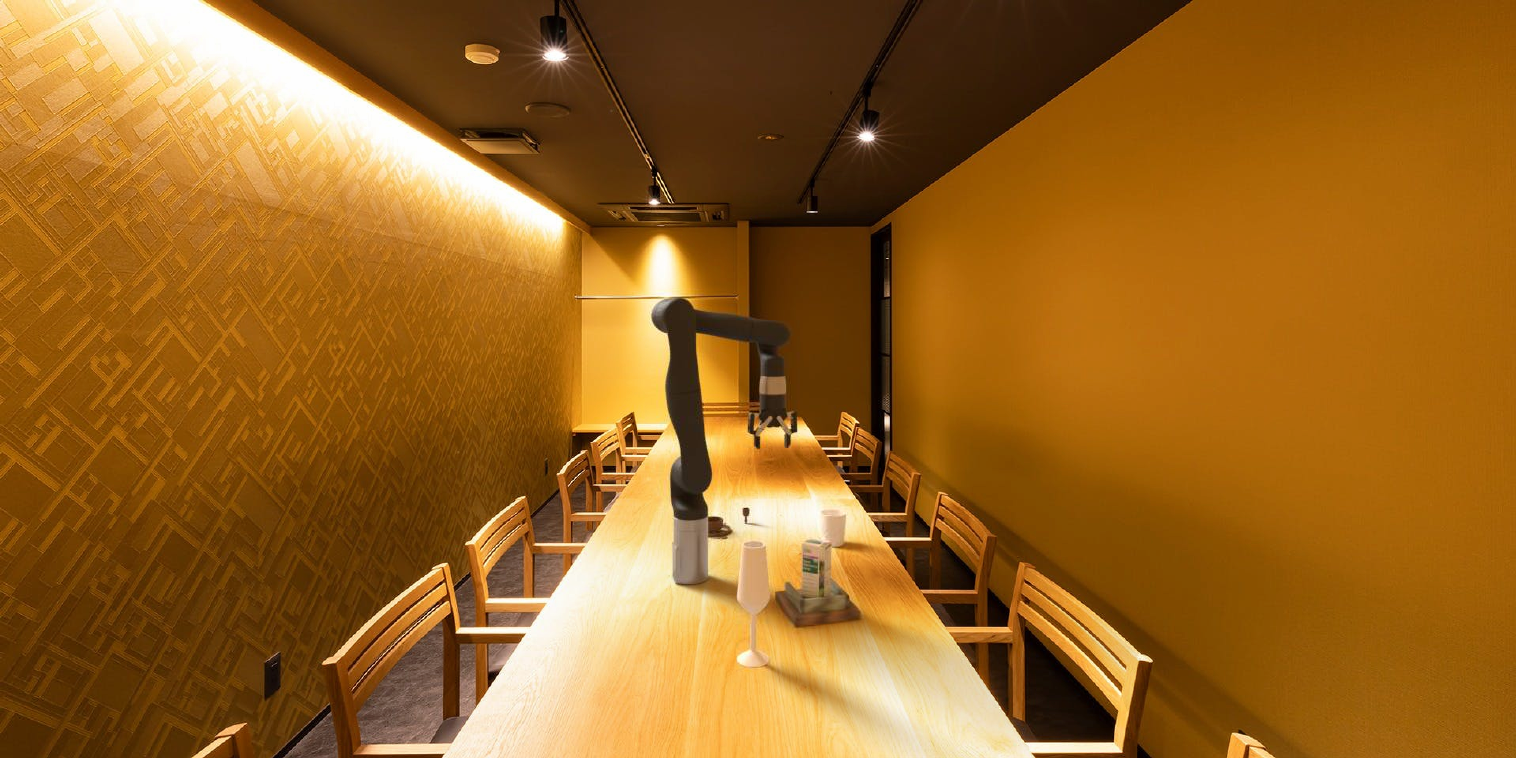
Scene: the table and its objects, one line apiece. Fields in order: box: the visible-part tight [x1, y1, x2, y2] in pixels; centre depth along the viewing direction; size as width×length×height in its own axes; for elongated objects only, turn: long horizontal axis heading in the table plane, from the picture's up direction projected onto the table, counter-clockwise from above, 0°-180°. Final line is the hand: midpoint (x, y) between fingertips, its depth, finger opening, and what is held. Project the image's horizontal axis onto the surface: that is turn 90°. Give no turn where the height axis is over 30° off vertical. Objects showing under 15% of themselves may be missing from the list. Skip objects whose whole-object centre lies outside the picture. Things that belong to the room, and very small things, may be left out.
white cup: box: [820, 508, 847, 548], centre depth 212 cm, size 8×8×10 cm
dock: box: [774, 577, 862, 628], centre depth 163 cm, size 16×16×5 cm
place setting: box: [708, 507, 751, 540], centre depth 225 cm, size 18×20×6 cm
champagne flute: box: [736, 540, 771, 668], centre depth 137 cm, size 7×7×24 cm
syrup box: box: [800, 537, 832, 599], centre depth 162 cm, size 6×6×14 cm
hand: (772, 448), depth 194 cm, fingers open, 8 cm apart
